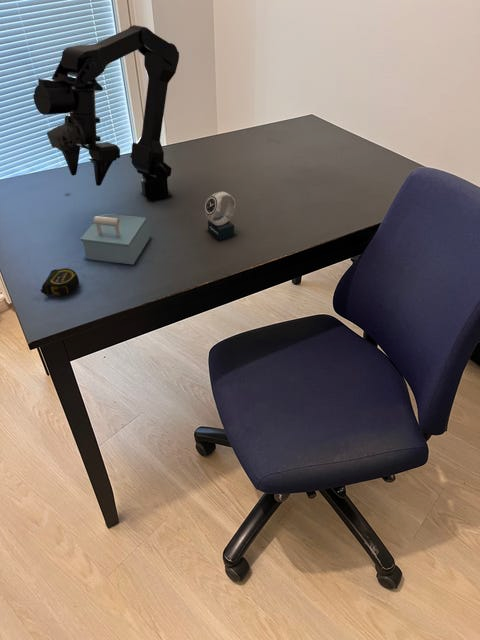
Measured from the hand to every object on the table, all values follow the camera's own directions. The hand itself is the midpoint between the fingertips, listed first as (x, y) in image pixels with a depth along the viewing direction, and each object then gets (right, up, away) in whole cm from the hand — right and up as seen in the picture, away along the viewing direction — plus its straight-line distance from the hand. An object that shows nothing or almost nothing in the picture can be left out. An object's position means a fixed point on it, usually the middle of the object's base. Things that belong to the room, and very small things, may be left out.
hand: (85, 180), depth 116 cm
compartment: (+8, -17, +1) cm, 18 cm away
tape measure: (-2, -28, -12) cm, 30 cm away
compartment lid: (+8, -13, -3) cm, 15 cm away
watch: (+33, -12, +7) cm, 35 cm away
